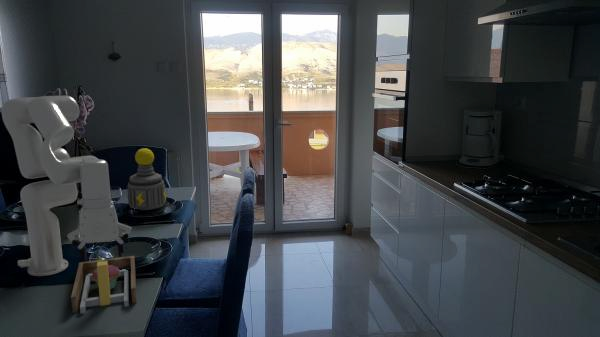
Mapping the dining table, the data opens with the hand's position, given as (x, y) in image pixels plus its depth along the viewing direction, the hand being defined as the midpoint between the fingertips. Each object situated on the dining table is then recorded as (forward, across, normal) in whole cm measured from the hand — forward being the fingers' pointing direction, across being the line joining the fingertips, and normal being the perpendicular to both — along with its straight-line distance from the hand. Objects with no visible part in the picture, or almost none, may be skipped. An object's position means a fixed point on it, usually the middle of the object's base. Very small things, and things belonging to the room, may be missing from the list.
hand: (102, 257), depth 135 cm
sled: (+15, -1, +8) cm, 17 cm away
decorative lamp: (+13, +16, +101) cm, 103 cm away
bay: (+15, -1, +10) cm, 18 cm away
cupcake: (+15, 0, +12) cm, 19 cm away
